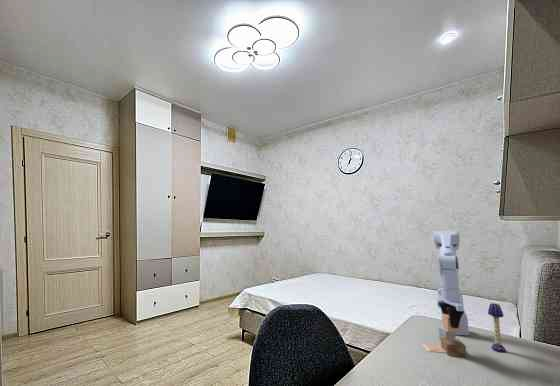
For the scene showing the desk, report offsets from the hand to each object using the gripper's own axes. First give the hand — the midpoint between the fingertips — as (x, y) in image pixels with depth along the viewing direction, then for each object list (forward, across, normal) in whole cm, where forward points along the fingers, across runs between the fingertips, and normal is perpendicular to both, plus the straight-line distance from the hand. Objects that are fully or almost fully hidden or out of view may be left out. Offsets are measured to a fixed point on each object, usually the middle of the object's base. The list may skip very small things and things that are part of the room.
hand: (451, 325), depth 99 cm
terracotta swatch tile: (+9, -2, -6) cm, 11 cm away
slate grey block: (+10, -9, +2) cm, 13 cm away
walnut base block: (+10, 0, 0) cm, 10 cm away
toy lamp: (+10, -5, +18) cm, 21 cm away
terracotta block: (+2, 0, 0) cm, 2 cm away
